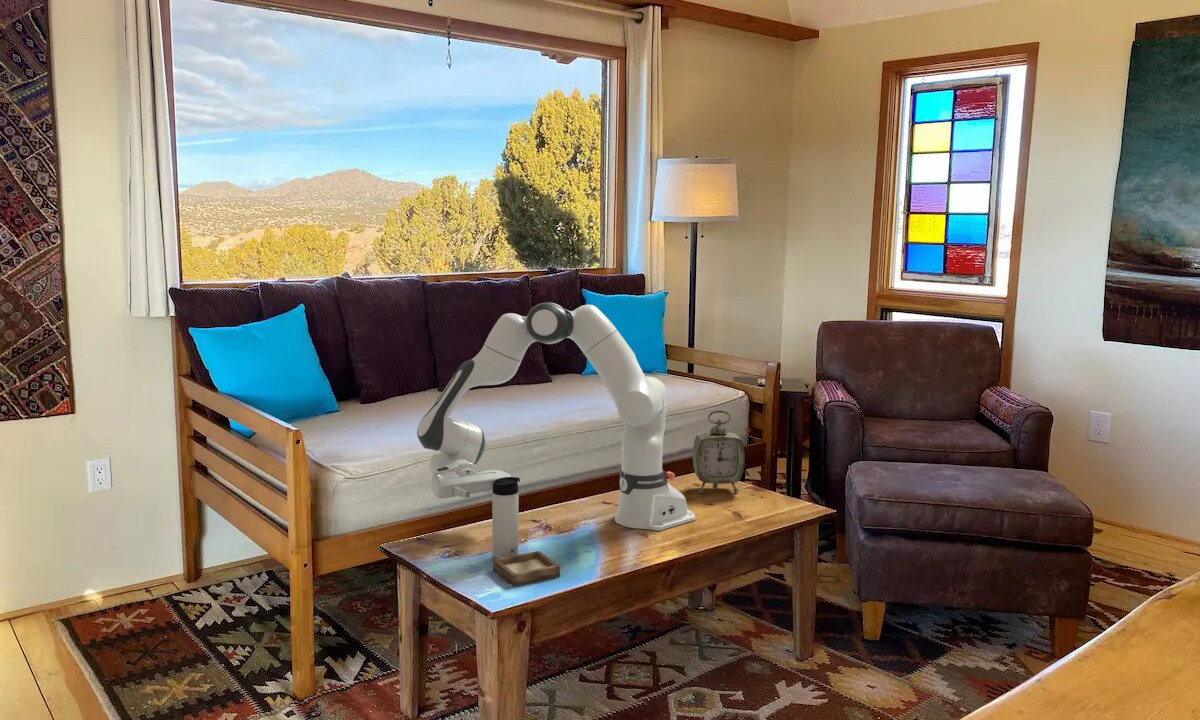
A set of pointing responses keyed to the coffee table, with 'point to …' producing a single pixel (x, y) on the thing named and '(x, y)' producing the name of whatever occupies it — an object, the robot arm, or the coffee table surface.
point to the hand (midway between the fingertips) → (484, 492)
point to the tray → (526, 568)
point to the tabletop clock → (718, 455)
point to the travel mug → (505, 517)
